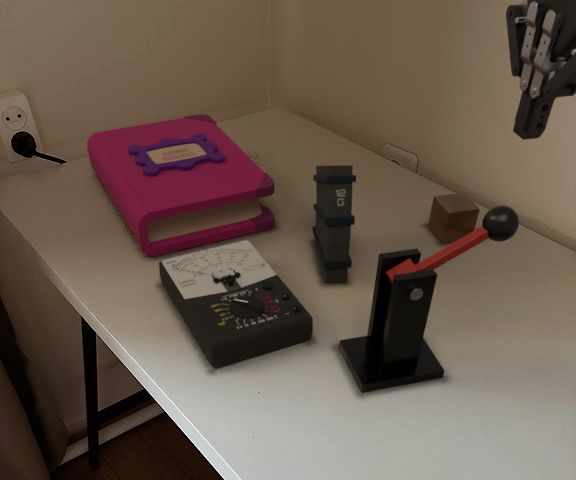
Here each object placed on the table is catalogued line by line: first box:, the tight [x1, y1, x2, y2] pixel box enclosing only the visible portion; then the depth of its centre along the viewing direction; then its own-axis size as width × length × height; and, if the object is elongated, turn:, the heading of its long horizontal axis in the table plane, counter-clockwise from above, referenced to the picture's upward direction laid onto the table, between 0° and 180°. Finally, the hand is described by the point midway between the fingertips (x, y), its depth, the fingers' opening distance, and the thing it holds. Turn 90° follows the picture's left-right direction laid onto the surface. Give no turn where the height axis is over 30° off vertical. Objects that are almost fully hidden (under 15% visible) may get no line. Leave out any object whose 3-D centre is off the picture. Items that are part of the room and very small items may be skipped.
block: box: [427, 192, 481, 244], centre depth 95 cm, size 5×5×5 cm
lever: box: [386, 204, 520, 283], centre depth 66 cm, size 14×4×4 cm, turn 106°
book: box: [86, 113, 276, 257], centre depth 99 cm, size 21×28×8 cm
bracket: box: [338, 248, 445, 394], centre depth 70 cm, size 10×8×14 cm
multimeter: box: [158, 239, 314, 368], centre depth 80 cm, size 13×19×5 cm
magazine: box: [311, 164, 357, 284], centre depth 86 cm, size 4×13×15 cm, turn 6°
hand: (526, 135), depth 59 cm, fingers closed
